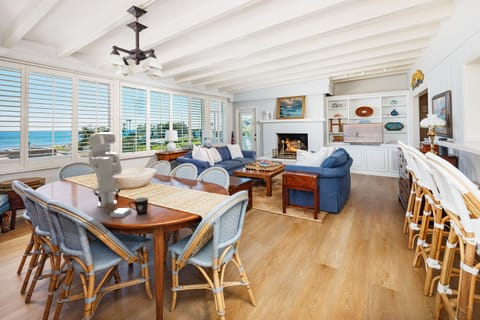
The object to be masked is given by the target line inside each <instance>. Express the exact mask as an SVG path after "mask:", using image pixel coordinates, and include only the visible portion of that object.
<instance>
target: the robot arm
mask: <svg viewBox="0 0 480 320" xmlns="http://www.w3.org/2000/svg"><path fill="white" fill-rule="evenodd" d="M88 142H89V143H88V144H89V146H90V147H91V150H90V152H89V153H88V163H89V167H90V168H92V169H94V172H95V177H96V181H97V187H96V188H94V189H93V190H92V193H93V194H94V195H95V196H96V197H98V204H97V207H99V208H105V204H108V203H113V204H114V205H117V203H118V202H117V201H118V200H119V197H120V196H119V193H120V192H121V191H122V188H123V186H122V185H118V184H116V178H115V177H114V176H116V175H120V174H122V170H123V169H122V164H121V160H120V156H119V154H118V153H117V152H108V150H109V145H112V144H115V143H116V135H115V134H114V133H113V132H109V131H108V132H96V133H94V134H91V135H89V136H88ZM117 188H118V190H117ZM97 191H98V193H97ZM114 193H115V195H114ZM114 196H115V197H114ZM115 199H116V200H115Z"/></svg>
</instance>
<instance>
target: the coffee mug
mask: <svg viewBox="0 0 480 320" xmlns="http://www.w3.org/2000/svg"><path fill="white" fill-rule="evenodd" d="M131 203H133V205H134V206H135V208H134V207H132V206H131ZM128 207H130V208H131V210H132V209H133V210H134V211H135V212H136V215H137V216H145V215H148V207H149V198H148V197H137V198H135V199H134V200H133V201H130V202H129V203H128Z"/></svg>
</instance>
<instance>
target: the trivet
mask: <svg viewBox="0 0 480 320" xmlns="http://www.w3.org/2000/svg"><path fill="white" fill-rule="evenodd" d="M131 213H132V208H131V207H130V208H127V207H126V208H125V207H124V208H122V207H121V208H119V207H118V208H116V209H114V211H113V212H112V213H110V214H109V215H110V218H124V217H126V216H128V215H129V214H131Z"/></svg>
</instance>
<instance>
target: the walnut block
mask: <svg viewBox="0 0 480 320" xmlns="http://www.w3.org/2000/svg"><path fill="white" fill-rule="evenodd" d="M104 208H105V209H104V210H105V215H110V213H112V212H113V211H115V204H113V203H108V204H105V207H104Z"/></svg>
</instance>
